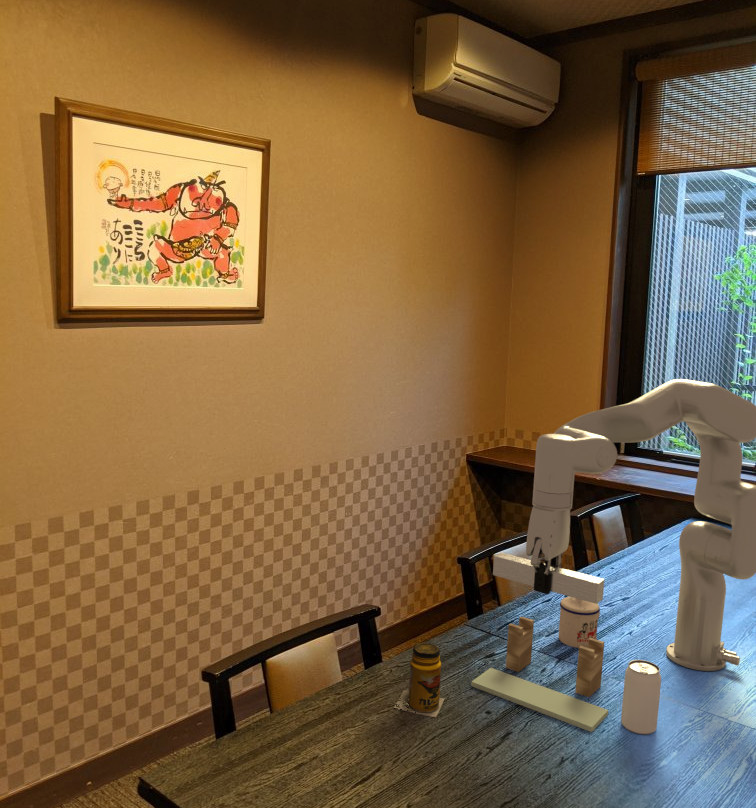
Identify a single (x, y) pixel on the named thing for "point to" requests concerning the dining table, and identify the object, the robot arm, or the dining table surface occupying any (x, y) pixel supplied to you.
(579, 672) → the post
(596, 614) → the teacup with lid
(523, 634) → the post
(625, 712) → the can
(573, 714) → the mat
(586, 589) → the rail
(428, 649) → the condiment
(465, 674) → the dining table surface
